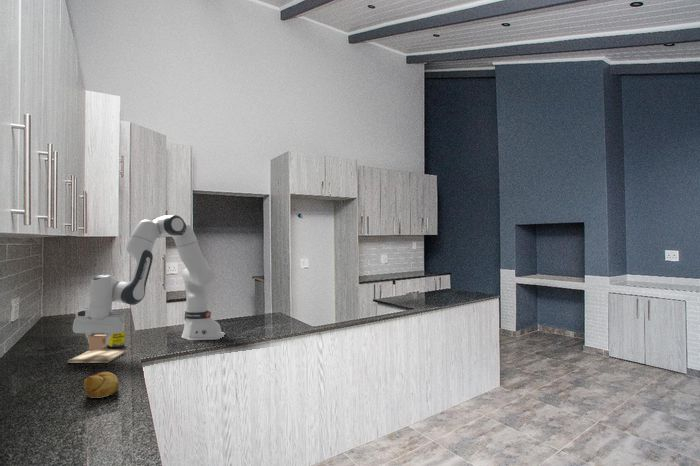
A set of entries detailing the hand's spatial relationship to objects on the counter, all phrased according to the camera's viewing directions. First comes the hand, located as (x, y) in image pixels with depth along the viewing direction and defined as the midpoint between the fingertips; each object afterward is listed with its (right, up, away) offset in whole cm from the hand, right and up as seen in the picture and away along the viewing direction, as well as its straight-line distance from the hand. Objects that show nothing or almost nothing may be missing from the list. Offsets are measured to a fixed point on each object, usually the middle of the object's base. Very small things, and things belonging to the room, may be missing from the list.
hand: (98, 343), depth 172 cm
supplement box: (-4, -7, +20) cm, 21 cm away
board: (0, -7, 0) cm, 7 cm away
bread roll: (+27, -7, -39) cm, 47 cm away
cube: (0, -2, 0) cm, 2 cm away
